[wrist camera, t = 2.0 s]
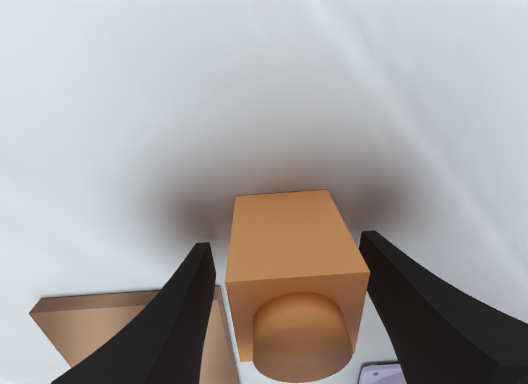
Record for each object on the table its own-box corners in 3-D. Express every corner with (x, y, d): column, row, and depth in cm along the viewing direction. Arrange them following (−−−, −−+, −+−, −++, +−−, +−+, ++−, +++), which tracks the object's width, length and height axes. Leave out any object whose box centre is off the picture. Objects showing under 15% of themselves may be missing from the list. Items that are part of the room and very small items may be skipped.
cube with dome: (327, 189, 13) (387, 305, 7) (323, 258, 15) (365, 387, 9) (235, 196, 13) (220, 316, 7) (244, 264, 15) (238, 396, 9)
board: (219, 286, 16) (217, 299, 15) (242, 396, 23) (241, 410, 22) (40, 298, 16) (28, 313, 15) (117, 405, 23) (112, 419, 22)
